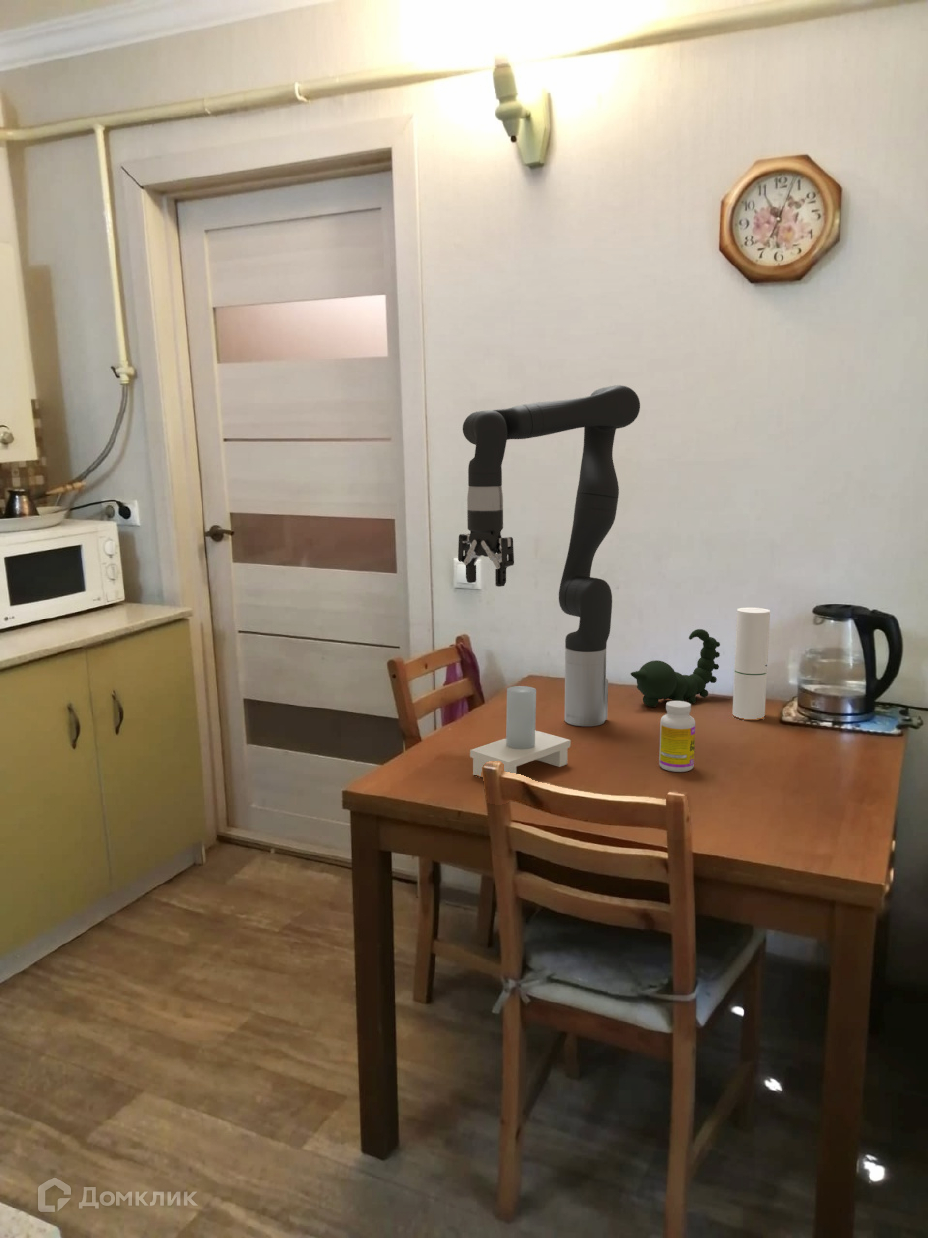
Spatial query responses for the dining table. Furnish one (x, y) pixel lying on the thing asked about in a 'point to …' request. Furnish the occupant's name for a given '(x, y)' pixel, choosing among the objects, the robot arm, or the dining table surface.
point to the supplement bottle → (677, 737)
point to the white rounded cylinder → (521, 717)
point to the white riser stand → (522, 753)
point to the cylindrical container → (751, 662)
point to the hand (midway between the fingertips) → (485, 584)
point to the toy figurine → (678, 676)
